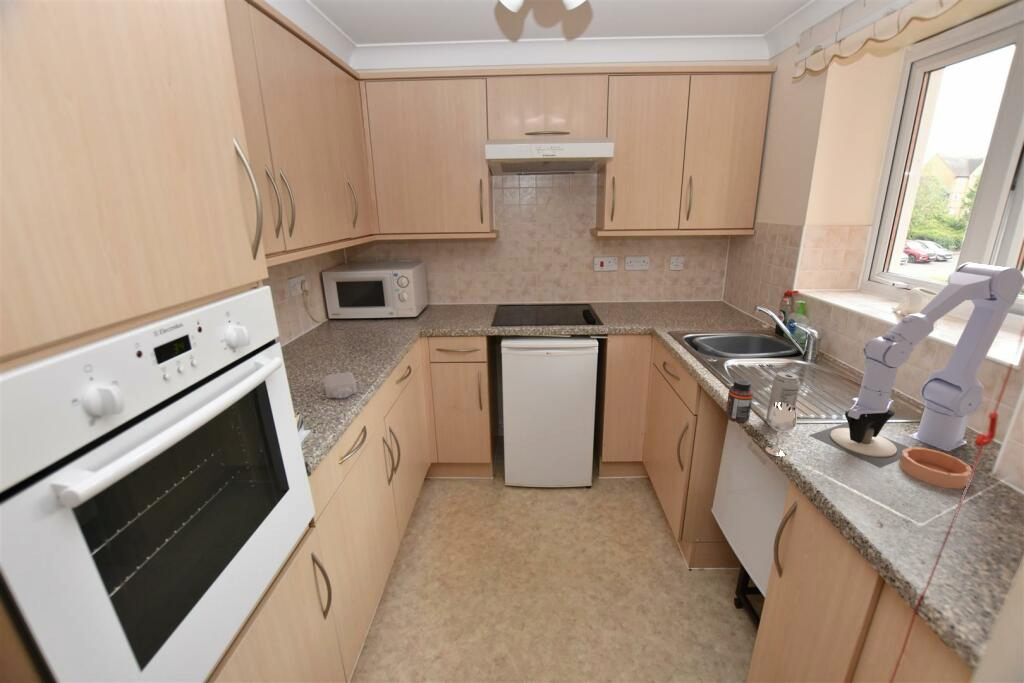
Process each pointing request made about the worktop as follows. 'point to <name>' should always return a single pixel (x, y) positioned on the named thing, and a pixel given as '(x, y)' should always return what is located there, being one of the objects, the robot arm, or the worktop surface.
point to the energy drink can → (784, 390)
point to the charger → (340, 385)
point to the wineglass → (781, 423)
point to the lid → (864, 443)
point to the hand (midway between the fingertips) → (863, 438)
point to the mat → (876, 461)
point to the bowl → (935, 467)
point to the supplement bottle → (739, 401)
